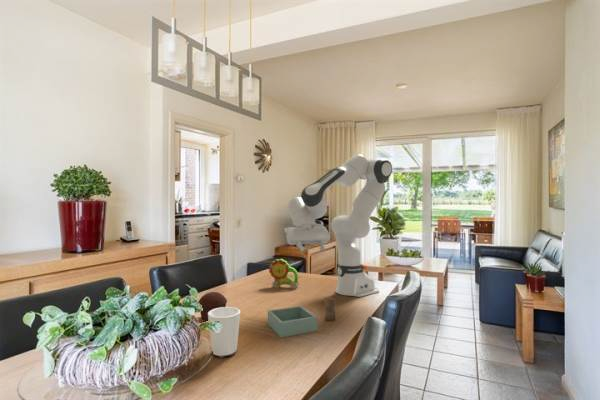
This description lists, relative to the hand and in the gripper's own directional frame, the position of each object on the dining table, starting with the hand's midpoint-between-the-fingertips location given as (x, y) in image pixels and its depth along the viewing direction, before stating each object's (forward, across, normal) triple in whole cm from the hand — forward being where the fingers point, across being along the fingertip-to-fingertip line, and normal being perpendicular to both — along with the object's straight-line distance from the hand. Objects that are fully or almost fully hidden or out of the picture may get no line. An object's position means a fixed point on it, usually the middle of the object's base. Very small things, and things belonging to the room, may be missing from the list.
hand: (313, 250), depth 143 cm
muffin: (+14, -41, +23) cm, 49 cm away
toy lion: (-9, +2, +45) cm, 46 cm away
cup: (+36, -43, +1) cm, 57 cm away
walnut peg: (+28, +1, +8) cm, 29 cm away
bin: (+29, -16, +7) cm, 34 cm away
